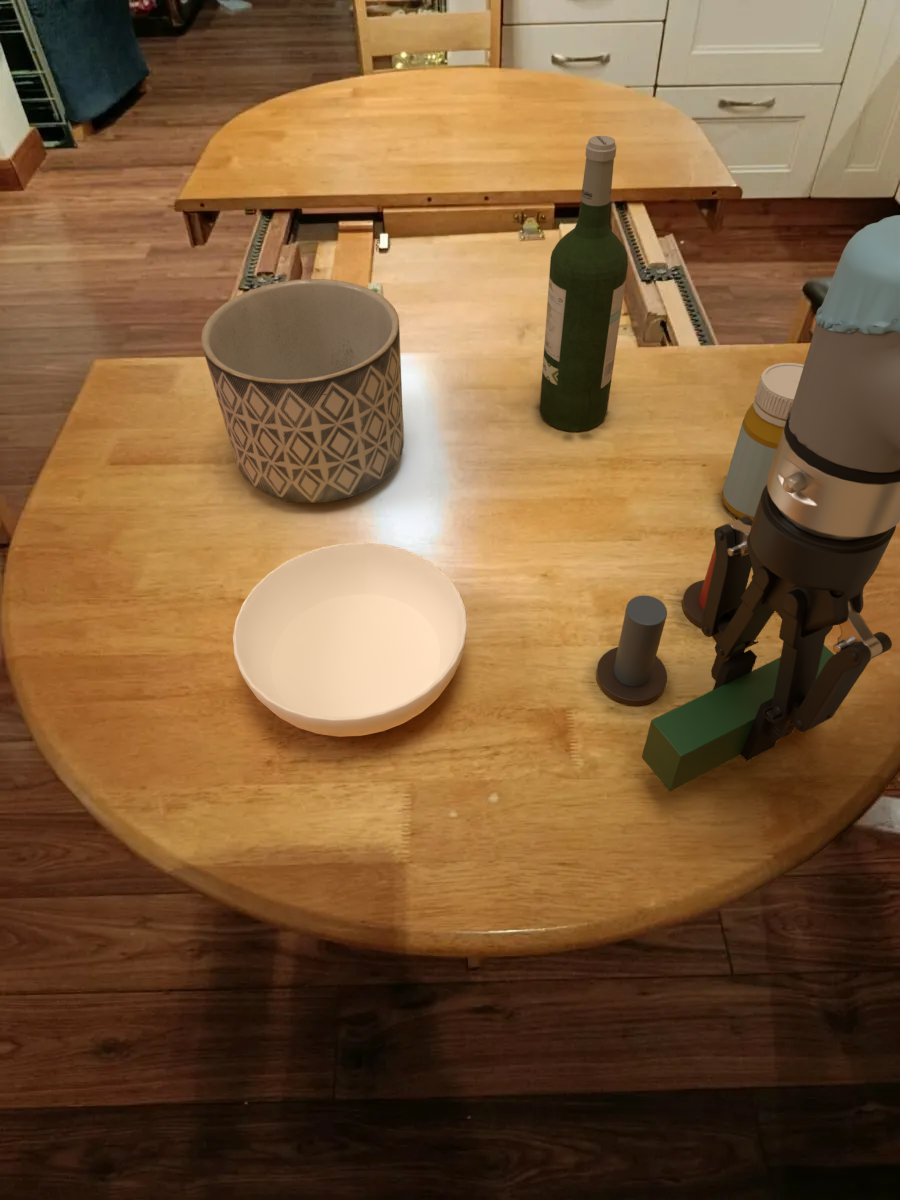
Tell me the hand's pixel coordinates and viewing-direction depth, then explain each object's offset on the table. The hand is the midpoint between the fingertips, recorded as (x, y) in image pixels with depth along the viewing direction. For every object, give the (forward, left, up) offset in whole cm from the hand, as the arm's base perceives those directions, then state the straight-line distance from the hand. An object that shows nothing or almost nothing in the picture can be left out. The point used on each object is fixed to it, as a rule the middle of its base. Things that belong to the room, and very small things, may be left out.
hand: (738, 729), depth 66 cm
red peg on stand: (+10, -12, -3) cm, 16 cm away
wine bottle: (+40, -25, -4) cm, 48 cm away
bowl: (+27, +17, -4) cm, 32 cm away
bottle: (+16, -27, -4) cm, 32 cm away
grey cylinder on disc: (+10, 0, -3) cm, 11 cm away
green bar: (0, 0, 0) cm, 0 cm away
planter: (+53, +2, -4) cm, 53 cm away
